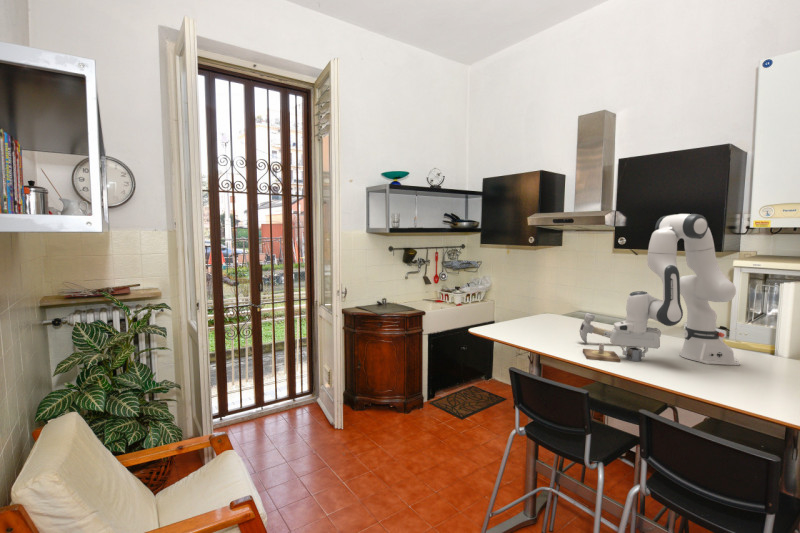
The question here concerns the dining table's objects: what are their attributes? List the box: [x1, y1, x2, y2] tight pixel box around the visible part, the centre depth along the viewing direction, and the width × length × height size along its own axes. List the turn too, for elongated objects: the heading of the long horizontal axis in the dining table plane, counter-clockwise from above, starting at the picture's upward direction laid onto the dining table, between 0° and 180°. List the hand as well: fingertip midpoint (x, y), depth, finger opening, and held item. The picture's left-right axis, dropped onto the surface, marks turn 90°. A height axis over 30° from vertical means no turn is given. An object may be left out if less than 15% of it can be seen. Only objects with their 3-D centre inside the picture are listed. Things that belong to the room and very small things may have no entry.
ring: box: [624, 346, 643, 362], centre depth 189 cm, size 6×6×5 cm
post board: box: [582, 342, 622, 363], centre depth 191 cm, size 14×12×6 cm
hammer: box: [579, 312, 612, 346], centre depth 212 cm, size 16×5×30 cm
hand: (633, 355), depth 189 cm, fingers closed on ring, 6 cm apart
